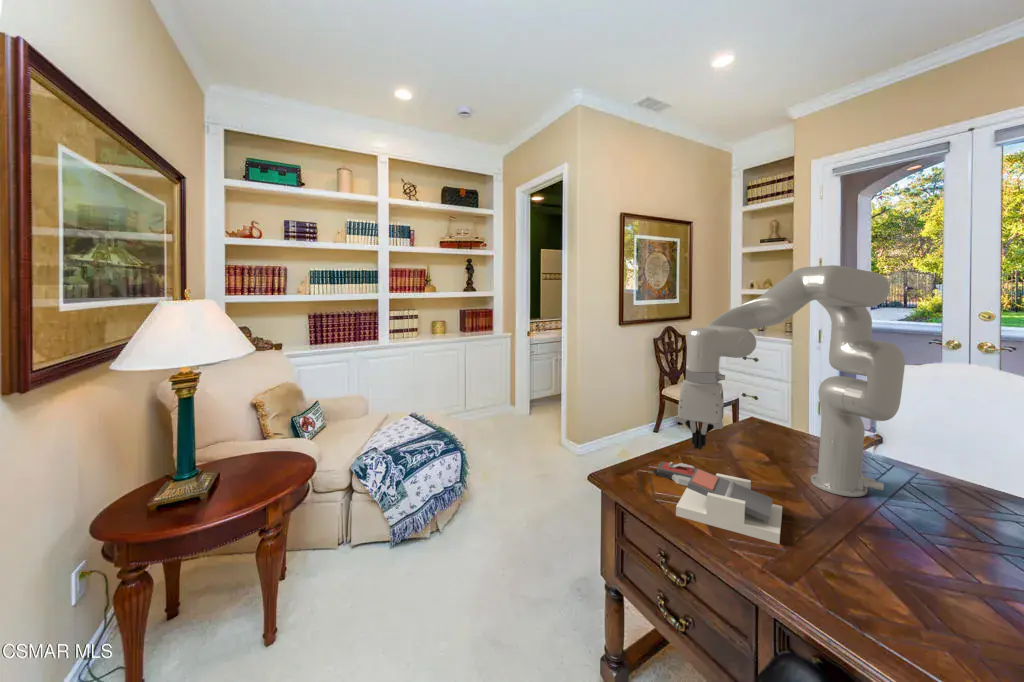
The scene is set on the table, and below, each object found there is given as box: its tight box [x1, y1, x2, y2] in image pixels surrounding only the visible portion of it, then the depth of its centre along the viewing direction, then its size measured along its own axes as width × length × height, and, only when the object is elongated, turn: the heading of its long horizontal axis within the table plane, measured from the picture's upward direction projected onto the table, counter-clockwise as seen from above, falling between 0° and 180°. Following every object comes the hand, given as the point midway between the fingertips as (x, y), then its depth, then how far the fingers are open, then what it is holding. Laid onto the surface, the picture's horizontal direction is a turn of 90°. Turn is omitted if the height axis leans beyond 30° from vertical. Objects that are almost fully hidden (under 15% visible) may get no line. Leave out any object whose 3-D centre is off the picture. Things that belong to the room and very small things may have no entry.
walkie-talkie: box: [652, 461, 697, 487], centre depth 123 cm, size 9×4×20 cm
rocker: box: [686, 468, 773, 522], centre depth 103 cm, size 18×10×2 cm, turn 56°
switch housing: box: [675, 473, 783, 545], centre depth 103 cm, size 22×14×8 cm, turn 55°
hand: (698, 447), depth 105 cm, fingers closed
